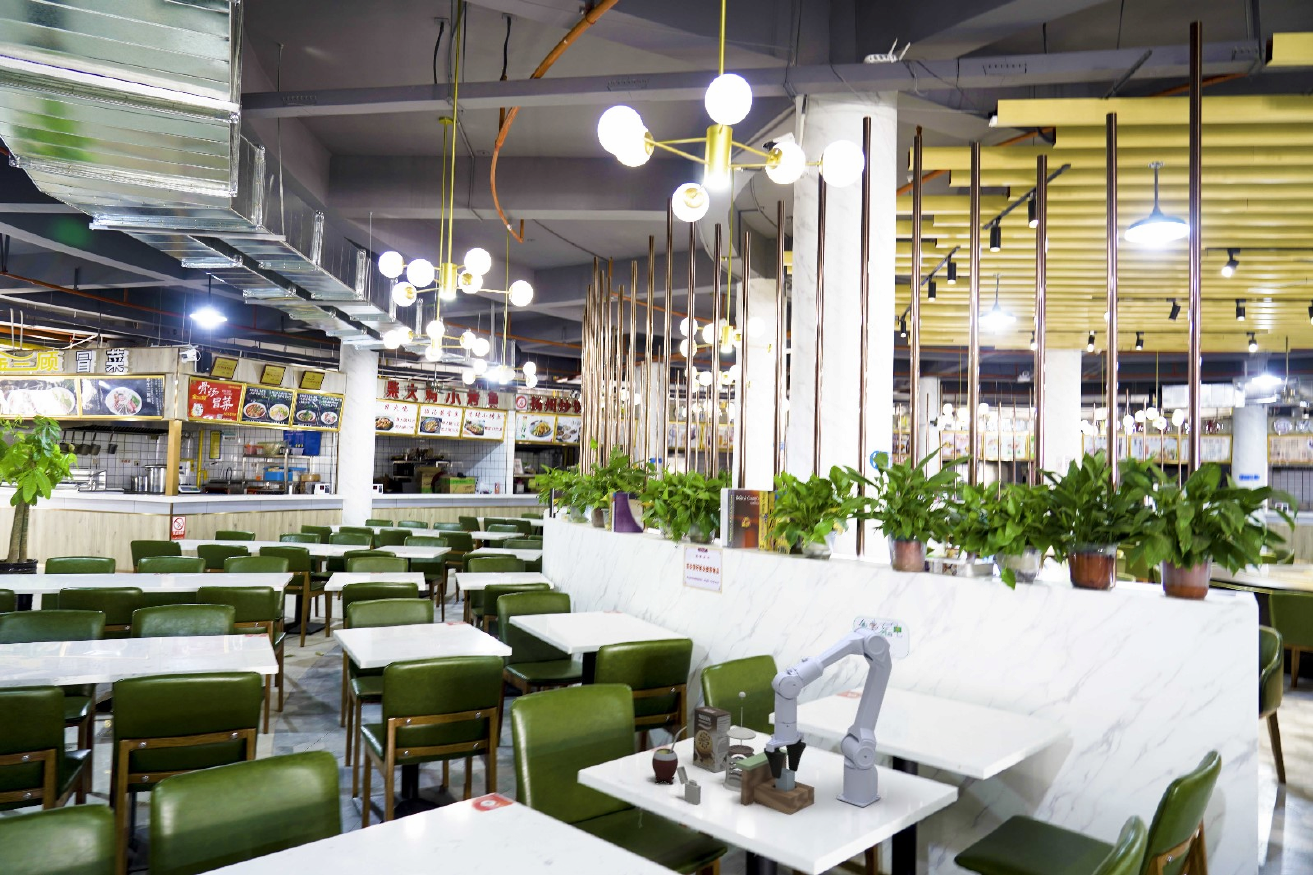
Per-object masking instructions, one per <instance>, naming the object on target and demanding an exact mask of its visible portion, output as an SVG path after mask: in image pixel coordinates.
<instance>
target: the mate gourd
mask: <svg viewBox="0 0 1313 875" xmlns="http://www.w3.org/2000/svg"><path fill="white" fill-rule="evenodd" d="M686 729H687V726H686V725H685V726H684V727H683V728H681V729H680V730H678V732H677V733H676V734H675V735H674V740H673V743H672V745H671V748H658V749H656V750H655V752H654V753H653V756H652V758H651V761H652V762H651V766H652V769H653V772H654V775H655V781H654V784H656V783H658V784H662V783H666V784H668V783H669V784H668V785H673V784H674V782H673V780H675V777H674V775H675V774H676V772H677V769H676V768H678V767H679V766H678V765H679V758H678V754H677V753H676V751H675V750H674V748H675V746H676V742H677V739H678V738H679V737H680V734H681V733H682V732H683V731H684V730H686ZM661 782H662V783H661Z"/></svg>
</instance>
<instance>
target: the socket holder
mask: <svg viewBox="0 0 1313 875" xmlns="http://www.w3.org/2000/svg"><path fill="white" fill-rule="evenodd" d="M779 750H780V751H781V752H784V753H786V755H785V757H784V760H783V764H782V768H786V769H787V764H788V753H787V749H783V748H779ZM735 765H736V766H737V767H740V768H742V770H741V771H742V783H741V792H740V795H741V796H740V805H742V806H746V807H747V806H749V805H750V804H751V805H752V804H753V803H755V804H758V805H761V806H763V807H767V808H770V809H773V810H774V811H778V812H781V813H784V814H787V815H789V816H792V815H793V814H794V813H797V812H799V811H801V810H803V809H804V808H807V807H809V806H812V805H813V804H814V803H815V787H814V786H811V785H808V784H805V783H801V782H798V781H797V780H795V789H792V790H790V791H788V792H786V791H783V790H780V789H776V778H774V777H772V773H771V768H770V764H769V761H768V759H767V757H766V755H765V753H764V751H762V752H760V753H757V754H755V755H754V756H751V757H748V758H746V757H745V758H744V759H743V760H740V761H738V762H736V764H735Z"/></svg>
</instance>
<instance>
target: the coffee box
mask: <svg viewBox="0 0 1313 875" xmlns="http://www.w3.org/2000/svg"><path fill="white" fill-rule="evenodd" d="M731 716H732V713H731V712H730V711H727V710H724V709H720V708H717V707H714V706H710V705H706V706H705V705H704V706H700V707H695V708H694V717H693V718H694V719H693V724H694V725H693V750H692V751H693V753H692V755H693V756H692V765H694V766H696V767H699V768H701V769H703V770H706V771H709V772H712V773H714V774H716V773H719V772H723V771H726V767H725V766H726V764H727V753H728V752H729V750H728V747H730V746H731V743H730V742H731V737H729V736H728V735H727V732H728V731H729V730H731V722H732V720H731V718H732V717H731ZM724 737H727V738H728V743H726V740H723V739H722V738H724ZM727 738H724V739H727ZM721 739H722V740H723V741H721V742H720V743H719V741H720V740H721ZM718 743H719V745H718ZM717 745H718V755H719V757H720V759H721V760H722V761H723V762H724V763H726V764H724V763H723V762H721V760H720V759H719V758H718V759H719V761H720V762H721V763H722V764H724V765H725V766H724V765H722V764H721V763H720V762H719V761H718V759H717V756H718V755H717V756H716V748H717Z"/></svg>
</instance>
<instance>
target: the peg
mask: <svg viewBox="0 0 1313 875" xmlns="http://www.w3.org/2000/svg"><path fill="white" fill-rule="evenodd" d="M795 781H796V772H795V771H792V770H789V768H787V767H786V768H782V772H781V778H780V779H777V778H776V789H780V790H783V791H786V792H788V791H790V790H792V789H795Z"/></svg>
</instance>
